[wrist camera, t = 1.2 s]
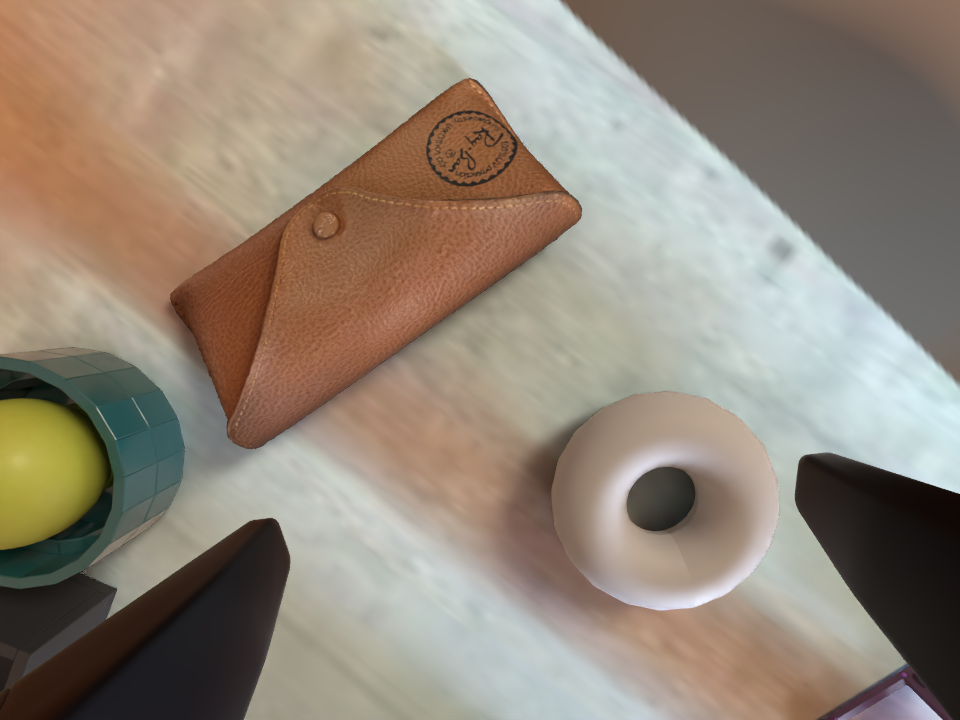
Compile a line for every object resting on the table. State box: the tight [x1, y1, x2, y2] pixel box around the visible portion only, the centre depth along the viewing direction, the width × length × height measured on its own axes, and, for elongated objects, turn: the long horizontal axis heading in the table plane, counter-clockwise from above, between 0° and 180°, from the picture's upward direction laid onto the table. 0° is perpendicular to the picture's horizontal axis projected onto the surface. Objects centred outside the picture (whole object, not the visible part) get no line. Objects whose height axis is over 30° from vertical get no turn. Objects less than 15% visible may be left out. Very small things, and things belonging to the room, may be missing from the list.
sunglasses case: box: [170, 78, 582, 449], centre depth 20 cm, size 18×7×7 cm, turn 126°
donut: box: [551, 391, 779, 611], centre depth 21 cm, size 10×4×10 cm
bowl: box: [0, 347, 185, 589], centre depth 21 cm, size 10×10×4 cm
